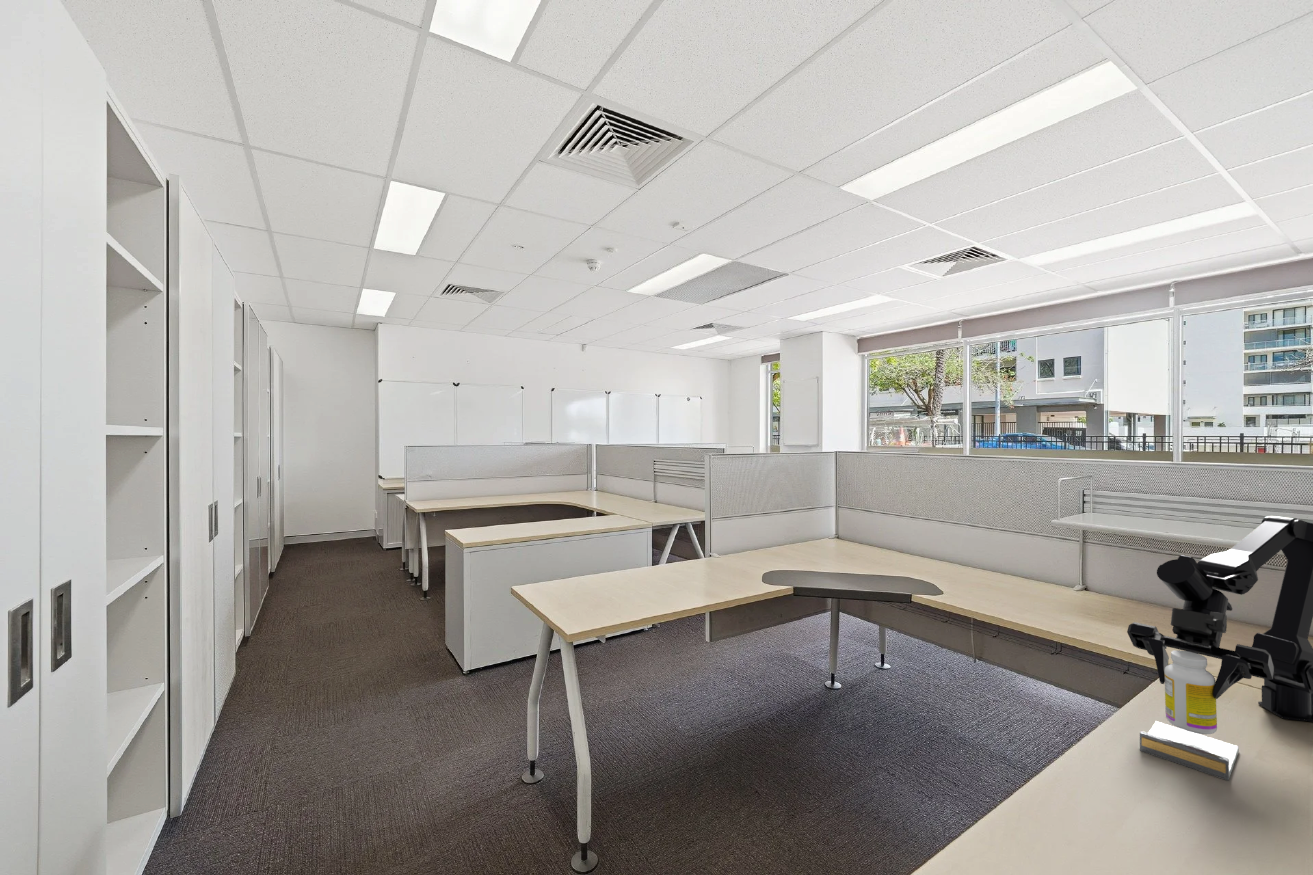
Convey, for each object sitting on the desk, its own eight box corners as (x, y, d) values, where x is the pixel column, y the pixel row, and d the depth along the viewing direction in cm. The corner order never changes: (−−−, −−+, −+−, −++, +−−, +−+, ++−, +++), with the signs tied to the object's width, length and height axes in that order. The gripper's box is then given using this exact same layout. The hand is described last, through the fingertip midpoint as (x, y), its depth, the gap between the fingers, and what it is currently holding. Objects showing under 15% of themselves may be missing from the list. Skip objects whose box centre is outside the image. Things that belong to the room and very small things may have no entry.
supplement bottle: (1226, 731, 96) (1224, 659, 96) (1202, 739, 94) (1201, 665, 94) (1179, 713, 103) (1178, 645, 102) (1156, 720, 100) (1155, 651, 100)
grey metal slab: (1156, 726, 105) (1155, 709, 105) (1238, 751, 97) (1238, 733, 97) (1139, 751, 97) (1139, 733, 97) (1228, 781, 89) (1227, 761, 89)
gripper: (1129, 581, 108) (1110, 649, 102) (1269, 604, 93) (1256, 686, 87) (1143, 612, 113) (1125, 679, 107) (1278, 639, 97) (1267, 720, 91)
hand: (1187, 689), depth 98 cm, fingers closed on supplement bottle, 7 cm apart
